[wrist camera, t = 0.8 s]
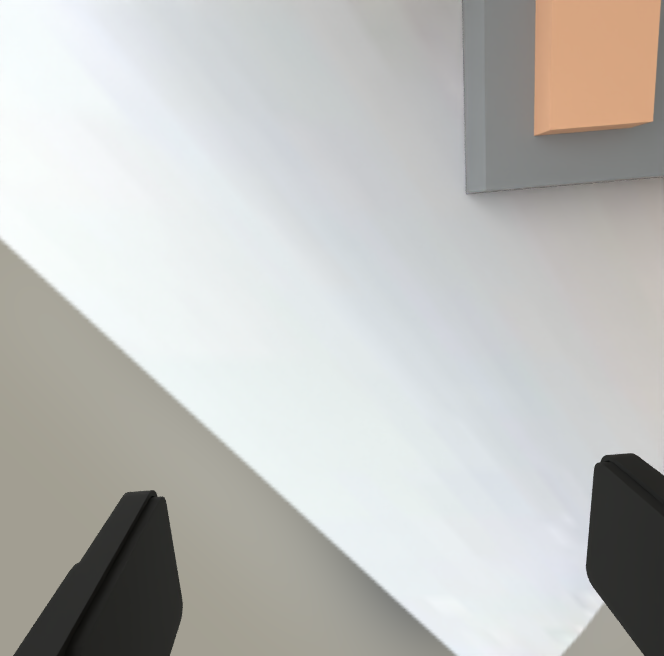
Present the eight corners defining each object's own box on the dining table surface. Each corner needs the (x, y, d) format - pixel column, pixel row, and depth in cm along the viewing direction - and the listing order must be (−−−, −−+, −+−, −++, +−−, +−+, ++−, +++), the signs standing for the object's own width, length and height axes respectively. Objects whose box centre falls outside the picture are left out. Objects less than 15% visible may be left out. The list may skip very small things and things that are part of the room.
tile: (535, -13, 27) (552, -30, 25) (638, -21, 27) (663, -39, 25) (533, 135, 29) (549, 129, 27) (630, 127, 29) (652, 121, 27)
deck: (461, -33, 30) (483, -69, 27) (706, -51, 31) (763, -90, 27) (465, 193, 34) (486, 190, 30) (687, 174, 34) (736, 169, 30)
